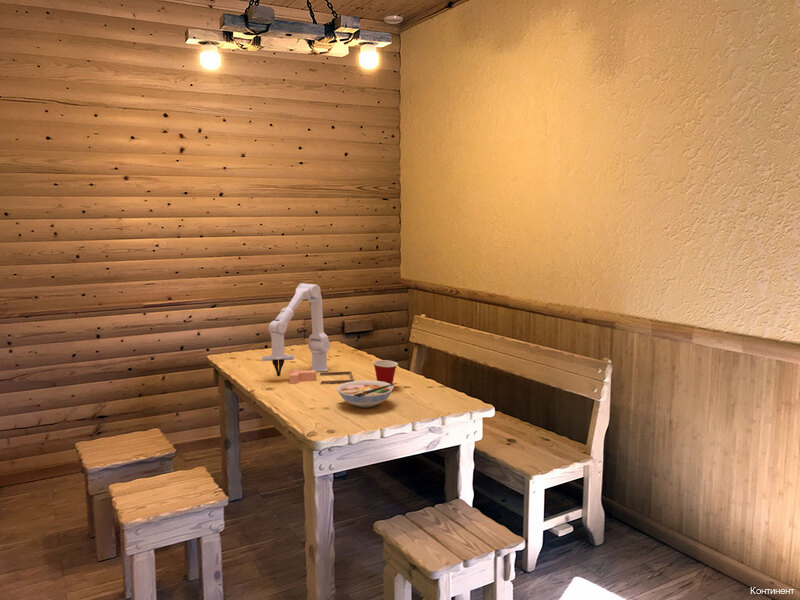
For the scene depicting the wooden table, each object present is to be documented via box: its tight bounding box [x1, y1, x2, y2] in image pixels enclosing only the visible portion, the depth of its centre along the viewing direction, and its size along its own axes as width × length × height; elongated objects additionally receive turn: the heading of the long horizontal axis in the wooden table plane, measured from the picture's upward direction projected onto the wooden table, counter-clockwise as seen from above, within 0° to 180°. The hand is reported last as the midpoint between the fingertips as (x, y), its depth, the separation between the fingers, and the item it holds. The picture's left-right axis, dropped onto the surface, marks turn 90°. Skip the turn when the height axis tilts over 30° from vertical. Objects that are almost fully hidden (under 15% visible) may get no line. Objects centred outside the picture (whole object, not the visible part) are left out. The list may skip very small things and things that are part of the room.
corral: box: [319, 370, 355, 385], centre depth 307 cm, size 17×15×1 cm
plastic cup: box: [372, 359, 399, 385], centre depth 288 cm, size 11×11×12 cm
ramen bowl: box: [336, 379, 398, 409], centre depth 264 cm, size 25×23×8 cm
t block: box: [288, 368, 317, 385], centre depth 304 cm, size 12×12×4 cm
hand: (278, 375), depth 302 cm, fingers closed
